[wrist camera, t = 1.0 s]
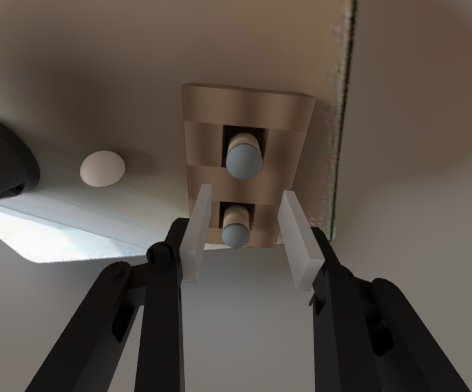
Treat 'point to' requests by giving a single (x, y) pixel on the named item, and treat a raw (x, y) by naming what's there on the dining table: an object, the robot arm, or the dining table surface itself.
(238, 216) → the dowel
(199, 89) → the walnut board
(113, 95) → the dining table surface
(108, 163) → the egg
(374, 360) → the robot arm
